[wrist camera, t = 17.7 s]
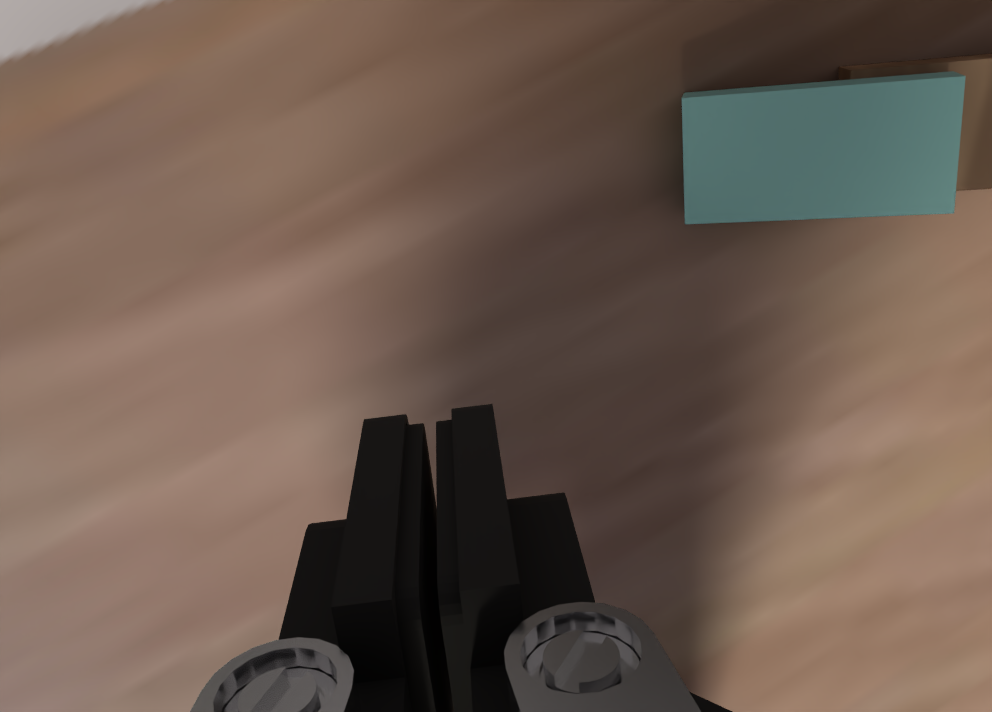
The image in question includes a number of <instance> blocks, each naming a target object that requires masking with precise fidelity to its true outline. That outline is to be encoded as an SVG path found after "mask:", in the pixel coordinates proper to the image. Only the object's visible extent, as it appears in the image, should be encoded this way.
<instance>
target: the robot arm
mask: <svg viewBox="0 0 992 712" xmlns="http://www.w3.org/2000/svg"><path fill="white" fill-rule="evenodd" d="M451 412H452V420H447V421H438V422H436V466H437V509H436V502H435V495H434V488H433V481H432V474H431V467H430V460H429V453H428V446H427V439H426V433H425V427H424V424H423V423H422V424H413V425H409V423H408V419H407V416H406V415H397V416H388V417H380V418H371V419H364V422H363V427H362V433H361V439H360V444H359V450H358V456H357V461H356V467H355V473H354V479H353V484H352V490H351V496H350V501H349V507H348V513H347V519H344V520H336V521H328V522H319V523H312V524H309V525H308V527H307V530H306V532H305V536H304V540H303V544H302V548H301V552H300V556H299V560H298V564H297V568H296V572H295V576H294V580H293V584H292V588H291V592H290V596H289V600H288V604H287V608H286V612H285V616H284V620H283V624H282V628H281V632H280V636H279V640H275V641H272V642H269V643H266V644H263V645H260V646H257V647H254V648H252V649H250V650H248V651H246V652H244V653H242V654H240V655H239V656H237V657H235V658H233V659H231V660H230V661H229V662H228V663H227V664H225V665H224V666H223V667H222V668H220V669H219V670H218V671H217V672H216V673H214V675H213V676H212V677H211V679H210V680H209V681H208V683H207V684H206V685H205V687H204V688H203V689H202V691H201V692H200V694H199V696H198V698H197V700H196V702H195V703H194V705H193V707H192V709H191V711H190V712H732V711H730V710H727V709H725V708H723V707H721V706H719V705H717V704H714V703H712V702H710V701H708V700H706V699H704V698H701V697H699V696H697V695H695V694H693V693H691V692H689V691H688V689H687V687H686V686H685V684H684V682H683V681H682V679H681V677H680V676H679V674H678V672H677V671H676V669H675V668H674V666H673V664H672V663H671V661H670V659H669V658H668V656H667V654H666V653H665V651H664V649H663V648H662V646H661V644H660V643H659V641H658V639H657V638H656V636H655V635H654V633H653V632H652V631H651V630H650V628H649V627H648V626H647V625H646V624H645V623H644V622H643V621H642V620H641V619H640V618H638V617H636V616H635V615H633V614H631V613H629V612H628V611H626V610H624V609H621V608H617V607H614V606H610V605H607V604H603V603H595V600H594V596H593V593H592V589H591V585H590V582H589V578H588V575H587V571H586V567H585V564H584V560H583V556H582V553H581V549H580V546H579V542H578V538H577V535H576V531H575V527H574V524H573V520H572V517H571V513H570V509H569V506H568V502H567V499H566V496H565V493H556V494H548V495H540V496H532V497H524V498H515V499H507V497H506V491H505V484H504V478H503V471H502V464H501V458H500V451H499V445H498V438H497V431H496V425H495V418H494V412H493V405H492V404H488V405H480V406H472V407H463V408H455V409H452V411H451Z"/></svg>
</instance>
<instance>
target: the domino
mask: <svg viewBox="0 0 992 712" xmlns="http://www.w3.org/2000/svg"><path fill="white" fill-rule="evenodd" d="M950 71H954V72H957V73H959V74H962V75H964V76H966V77H965V89H964V101H963V113H962V125H961V136H960V148H959V160H958V172H957V183H956V191H961V190H976V189H991V188H992V54H981V55H970V56H958V57H946V58H935V59H923V60H912V61H900V62H888V63H877V64H865V65H854V66H842V67H839V80H849V79H862V78H875V77H887V76H900V75H913V74H925V73H938V72H950Z"/></svg>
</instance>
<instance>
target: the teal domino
mask: <svg viewBox="0 0 992 712" xmlns="http://www.w3.org/2000/svg"><path fill="white" fill-rule="evenodd" d="M965 77H966V76H964V75H962V74H959V73H957V72H954V71H950V72H938V73H925V74H913V75H900V76H887V77H875V78H862V79H849V80H837V81H824V82H812V83H799V84H786V85H774V86H761V87H749V88H736V89H723V90H711V91H698V92H686V93H684V94H683V96H682V131H683V170H684V210H685V224H706V223H730V222H755V221H779V220H803V219H827V218H852V217H876V216H900V215H924V214H949V213H954V207H955V195H956V183H957V172H958V160H959V148H960V136H961V125H962V113H963V101H964V89H965Z"/></svg>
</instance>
